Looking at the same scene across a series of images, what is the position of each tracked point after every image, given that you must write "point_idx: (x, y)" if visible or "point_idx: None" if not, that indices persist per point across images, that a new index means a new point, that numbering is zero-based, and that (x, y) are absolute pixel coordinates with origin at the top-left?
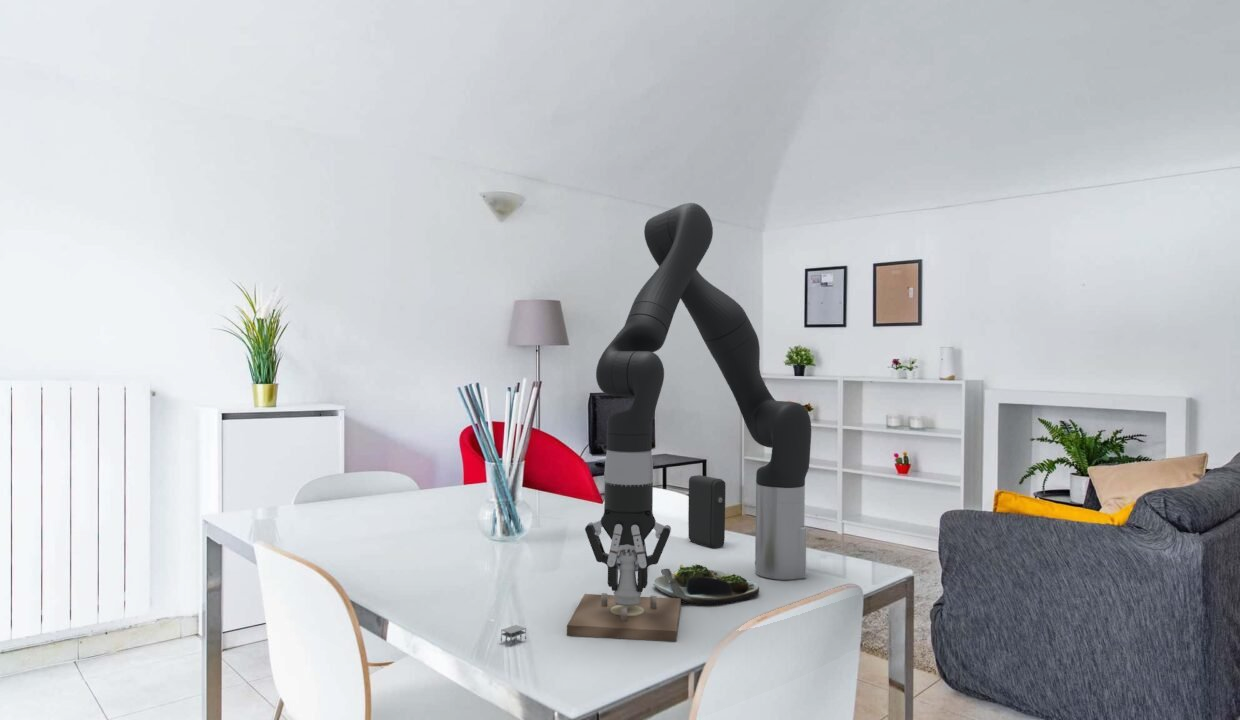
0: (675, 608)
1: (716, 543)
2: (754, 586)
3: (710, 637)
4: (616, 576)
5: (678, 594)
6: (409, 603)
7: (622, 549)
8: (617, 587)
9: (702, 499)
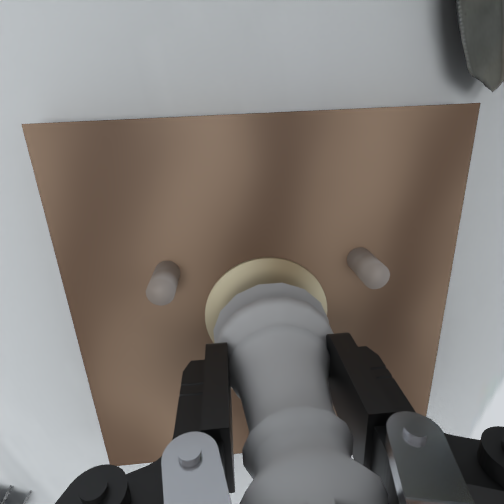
0: (441, 246)
1: None
2: None
3: (501, 366)
4: (232, 436)
5: (479, 36)
6: None
7: None
8: (236, 392)
9: None
